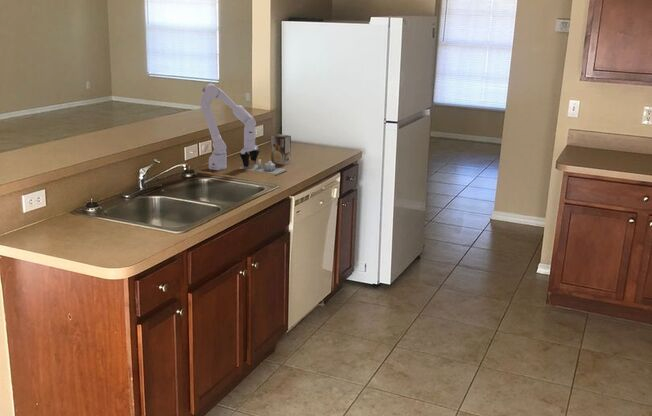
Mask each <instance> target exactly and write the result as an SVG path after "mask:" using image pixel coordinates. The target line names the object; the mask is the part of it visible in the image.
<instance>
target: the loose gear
mask: <svg viewBox="0 0 652 416" xmlns="http://www.w3.org/2000/svg"><path fill="white" fill-rule="evenodd" d="M255 165H256V163H255V161H253V160H251V159H249V162H248V167H246V168H253V167H255ZM243 166H244V165H243ZM244 167H245V166H244Z"/></svg>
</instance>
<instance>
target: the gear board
mask: <svg viewBox="0 0 652 416" xmlns="http://www.w3.org/2000/svg"><path fill="white" fill-rule="evenodd" d="M239 169H240V170H248V171H252V172H253V171H254V172H261V173H267V174H274V177H277V176H280V175H283V174H285V173H286V172H288V169H287V168H282V167H276V163H272V161H271V160H269V161H267V163H264V165H262V159H257V164H255V167H253V168H246V167H244V165H243V166H240V167H239Z"/></svg>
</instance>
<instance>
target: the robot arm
mask: <svg viewBox="0 0 652 416" xmlns="http://www.w3.org/2000/svg"><path fill="white" fill-rule="evenodd" d="M215 98H216V99H218V100H221V101H222V102H224V103H225V104H226V105H227V106H228V107H229V108H230V109H232V114H233V115H234V116H235V117H236V118H237V120H239V121H240V122H242V124H243V125H244V131H243V148H242V149H240V152H239V157H240V158H241V160H242V165H243V166H245V167H248V162H249V160H253V161H255V164H256V163H257V160H258V159H257V158H258V156H259V154H260V150H259V146H258V145H256V126H257V121H256V119H255V118H254V116H253V115H252V114H251V112H248V111H247V110H246V109H245V108H246V107H244V106H242V105H237V104H236V103H235V102H234V101H233V100H232V99H231V98H230V97H229V96H228V95H227V94H226V93H225V92H224V91H223V90H222V89H221V88H219V86H216V85H215V84H214V83H211V82H210V83H206V84H205V85H204V87H203V88H202V90H201V94H200V99H199V106H200V109H201V111H202V114H203V116H204V120H205V123H206V126H207V128H208V130H209V134H210V137H211V140H212V147H213V150H212V152H211V153H212V154H211V155H209V157H208V169H209V170H214V171H220V170H225V169H227V148H228V147H227V144H226V143H225V140H223V139H222V136H221V133H220V131H219V128H218V125H217V122H216V119H215V116H214V114H213V111H212V107H211V104H212V102H213V101H214V99H215Z"/></svg>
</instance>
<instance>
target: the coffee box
mask: <svg viewBox="0 0 652 416" xmlns="http://www.w3.org/2000/svg"><path fill="white" fill-rule="evenodd" d="M270 137H271V138H270V139H271V142H270V143H271V148H270V149H271V153H270V154H271V155H270V158H271V160H270V161H272V163H273V164H276V165H277V164H278V165H284V166H287V165H288V164H291V162H292V161H291V158H292V157H291V154H292V153H291V151H292V150H291V149H292V147H291V146H292V145H291V143H292V135H288V134H280V133H276V134H272V135H271V136H270Z"/></svg>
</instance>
